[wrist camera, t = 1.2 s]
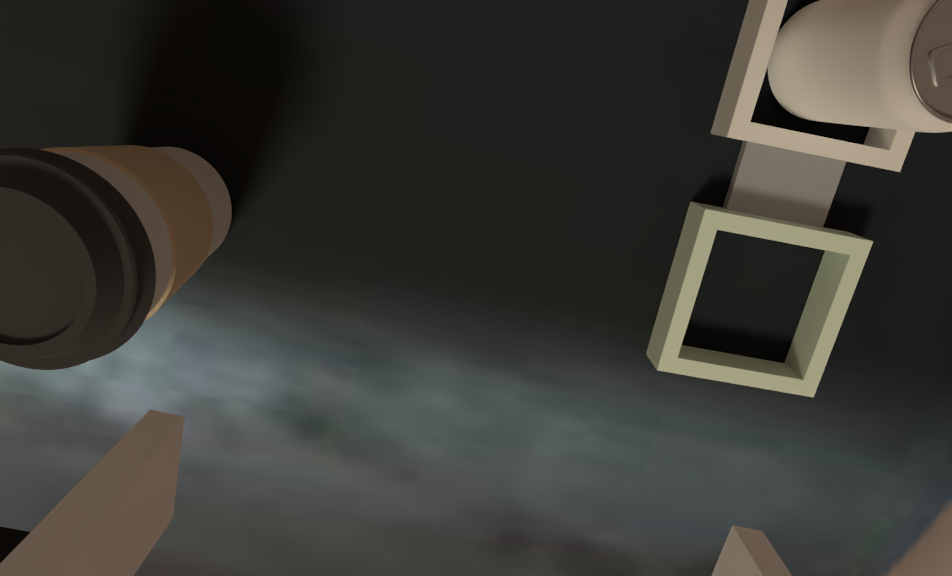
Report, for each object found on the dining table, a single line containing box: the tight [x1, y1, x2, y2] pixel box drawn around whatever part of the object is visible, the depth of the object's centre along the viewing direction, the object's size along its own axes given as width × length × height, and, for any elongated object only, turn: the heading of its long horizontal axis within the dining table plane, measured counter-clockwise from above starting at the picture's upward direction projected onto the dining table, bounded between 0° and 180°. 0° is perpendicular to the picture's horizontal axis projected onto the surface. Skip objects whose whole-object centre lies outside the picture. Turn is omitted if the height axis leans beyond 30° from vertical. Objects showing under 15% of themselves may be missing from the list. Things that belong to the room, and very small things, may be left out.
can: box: [768, 0, 952, 133], centre depth 31 cm, size 6×6×12 cm
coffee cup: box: [0, 145, 232, 370], centre depth 31 cm, size 9×9×15 cm
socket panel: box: [646, 0, 915, 397], centre depth 37 cm, size 24×10×2 cm, turn 169°
